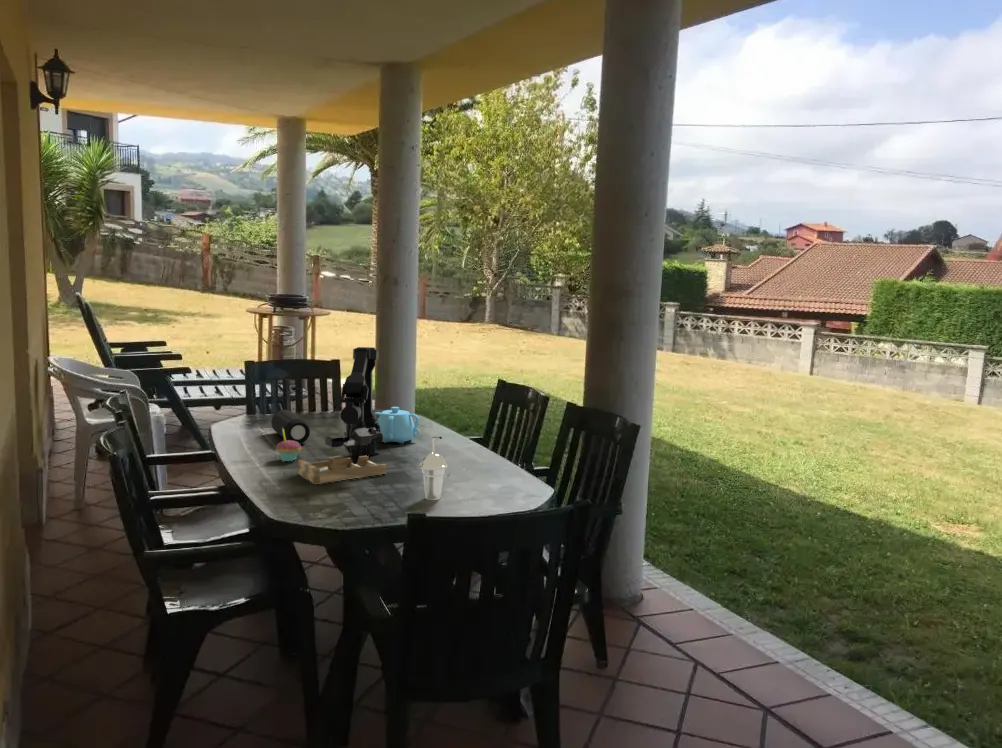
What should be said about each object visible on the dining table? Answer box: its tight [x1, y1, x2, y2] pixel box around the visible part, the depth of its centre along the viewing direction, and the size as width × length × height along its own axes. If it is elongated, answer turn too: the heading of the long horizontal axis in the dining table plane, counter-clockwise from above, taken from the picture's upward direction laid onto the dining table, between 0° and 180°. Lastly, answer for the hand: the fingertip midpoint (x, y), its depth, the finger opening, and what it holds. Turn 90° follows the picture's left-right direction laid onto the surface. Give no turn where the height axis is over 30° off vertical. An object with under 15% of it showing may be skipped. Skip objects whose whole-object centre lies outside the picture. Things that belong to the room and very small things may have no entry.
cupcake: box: [275, 427, 302, 462], centre depth 280 cm, size 9×8×12 cm
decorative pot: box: [374, 406, 421, 445], centre depth 315 cm, size 16×16×14 cm
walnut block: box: [327, 455, 347, 471], centre depth 262 cm, size 4×4×4 cm
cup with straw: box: [418, 435, 448, 501], centre depth 239 cm, size 8×9×20 cm
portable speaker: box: [270, 409, 311, 444], centre depth 314 cm, size 26×10×10 cm, turn 29°
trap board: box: [297, 455, 387, 483], centre depth 264 cm, size 14×25×5 cm, turn 126°
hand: (354, 464), depth 266 cm, fingers closed
